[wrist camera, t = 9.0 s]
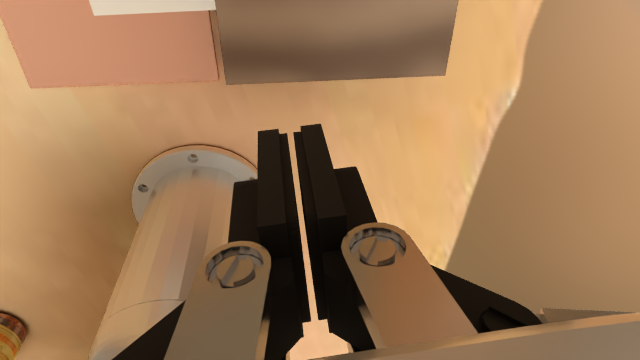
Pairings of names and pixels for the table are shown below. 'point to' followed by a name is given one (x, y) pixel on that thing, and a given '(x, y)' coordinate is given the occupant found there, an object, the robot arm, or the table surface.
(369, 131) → the table surface
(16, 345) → the sauce bottle
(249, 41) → the deck
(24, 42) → the mat
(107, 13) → the cream block
